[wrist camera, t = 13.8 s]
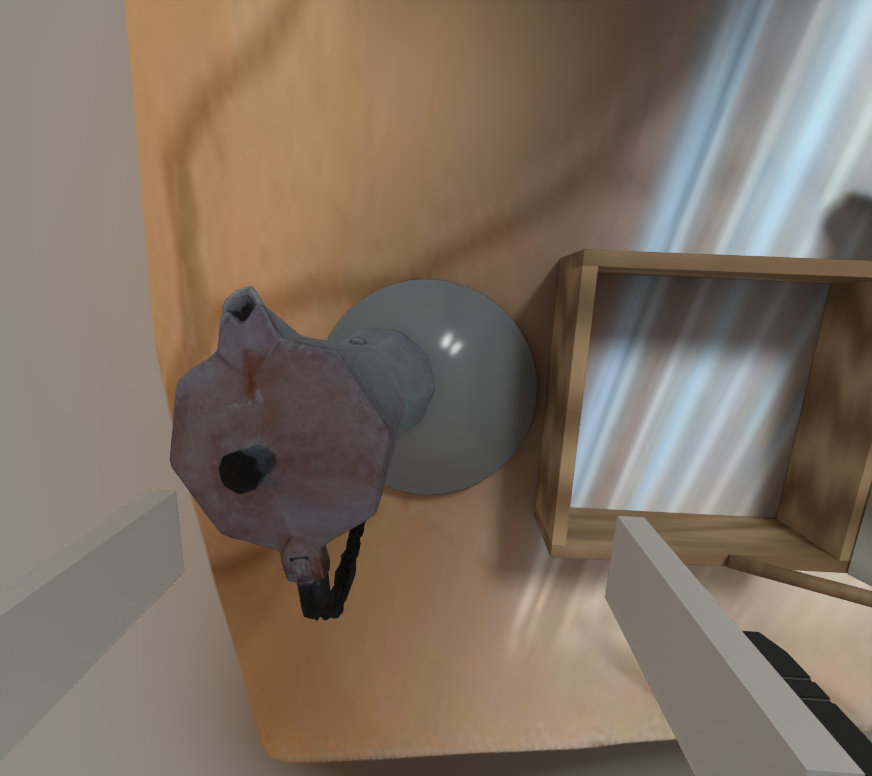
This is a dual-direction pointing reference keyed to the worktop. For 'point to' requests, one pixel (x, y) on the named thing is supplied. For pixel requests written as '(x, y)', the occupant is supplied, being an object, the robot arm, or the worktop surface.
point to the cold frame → (812, 451)
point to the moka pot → (296, 438)
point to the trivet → (454, 382)
